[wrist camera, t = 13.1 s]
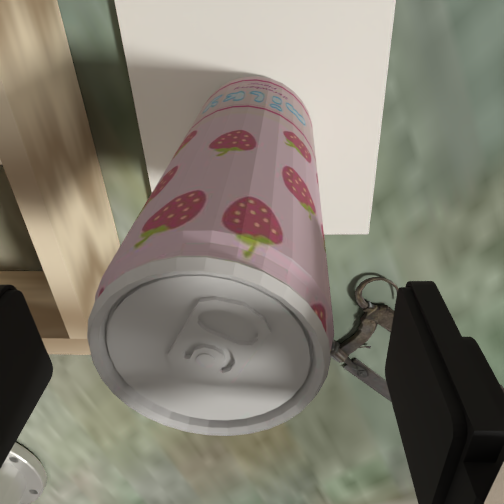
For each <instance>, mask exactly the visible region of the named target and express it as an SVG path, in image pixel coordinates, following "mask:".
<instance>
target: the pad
mask: <svg viewBox="0 0 504 504" xmlns="http://www.w3.org/2000/svg"><path fill="white" fill-rule="evenodd" d="M114 1H115V6H116V11H117V16H118V21H119V27H120V32H121V37H122V42H123V47H124V52H125V57H126V63H127V68H128V73H129V78H130V83H131V88H132V93H133V99H134V104H135V109H136V114H137V119H138V124H139V130H140V135H141V140H142V145H143V150H144V155H145V160H146V166H147V171H148V176H149V181H150V186H151V191H152V192H153V190H154V189H155V187H156V185H157V183H158V182H159V180H160V178H161V177H162V175H163V173H164V172H165V170H166V168H167V167H168V165H169V163H170V162H171V160H172V158H173V156H174V155H175V153H176V151H177V150H178V148H179V146H180V145H181V143H182V141H183V140H184V138H185V136H186V135H187V133H188V131H189V129H190V128H191V126H192V124H193V123H194V121H195V119H196V118H197V116H198V114H199V113H200V111H201V109H202V108H203V106H204V104H205V103H206V101H207V100H208V99H209V97H210V96H211V95H212V94H213V93H214V92H215V91H216V90H217V89H218V88H220V87H221V86H222V85H224V84H226V83H228V82H230V81H232V80H234V79H238V78H242V77H249V76H260V77H266V78H271V79H273V80H276V81H278V82H280V83H283V84H284V85H286V86H287V87H288V88H290V89H291V90H293V91H294V92H295V93H296V94H297V95H298V97H299V98H300V99H301V100H302V101H303V103H304V105H305V106H306V108H307V110H308V112H309V115H310V118H311V121H312V128H313V137H314V146H315V156H316V165H317V174H318V184H319V193H320V203H321V212H322V221H323V231H324V234H369V226H370V217H371V209H372V200H373V192H374V183H375V174H376V166H377V157H378V149H379V140H380V131H381V123H382V114H383V106H384V97H385V89H386V80H387V71H388V63H389V54H390V46H391V37H392V28H393V20H394V11H395V3H396V0H114Z"/></svg>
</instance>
